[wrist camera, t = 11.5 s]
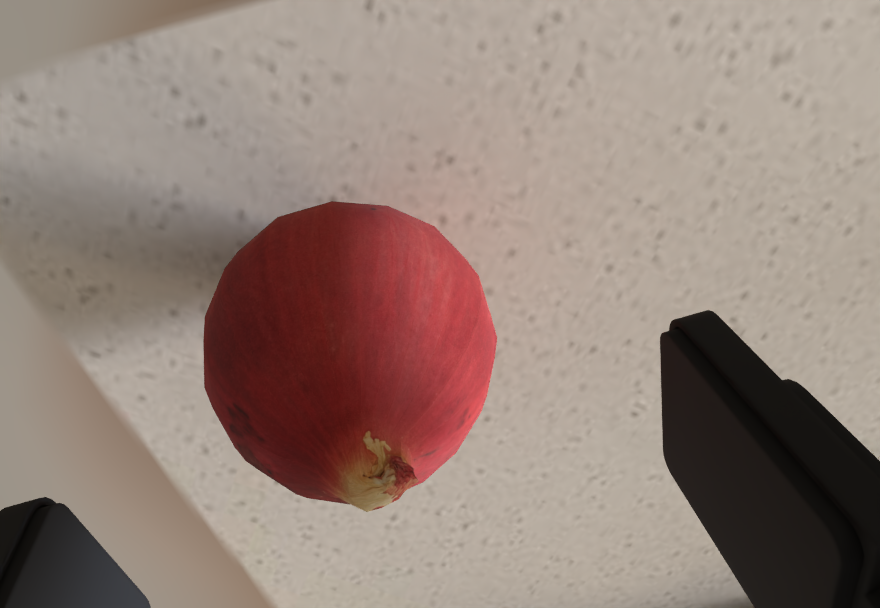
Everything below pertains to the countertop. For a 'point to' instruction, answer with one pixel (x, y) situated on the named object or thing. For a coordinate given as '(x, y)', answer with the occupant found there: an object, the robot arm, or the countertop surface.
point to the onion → (348, 352)
